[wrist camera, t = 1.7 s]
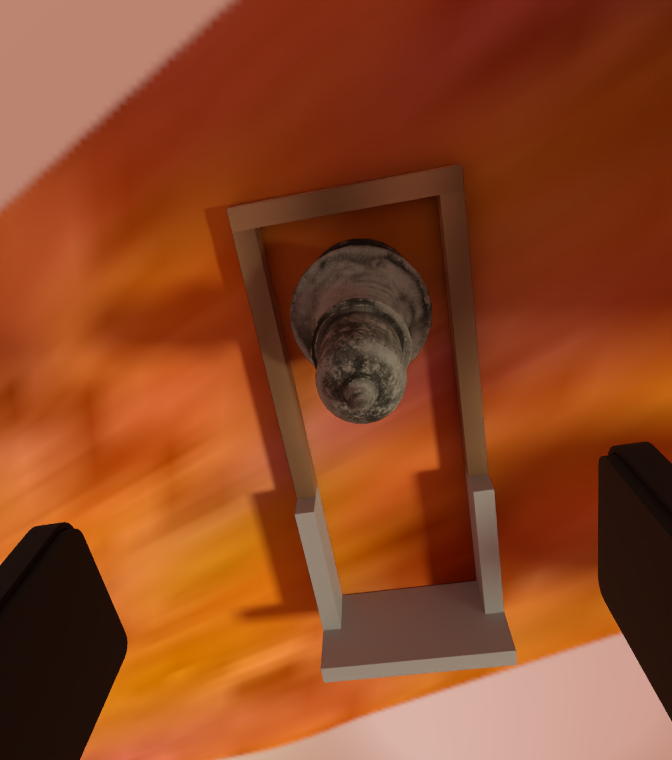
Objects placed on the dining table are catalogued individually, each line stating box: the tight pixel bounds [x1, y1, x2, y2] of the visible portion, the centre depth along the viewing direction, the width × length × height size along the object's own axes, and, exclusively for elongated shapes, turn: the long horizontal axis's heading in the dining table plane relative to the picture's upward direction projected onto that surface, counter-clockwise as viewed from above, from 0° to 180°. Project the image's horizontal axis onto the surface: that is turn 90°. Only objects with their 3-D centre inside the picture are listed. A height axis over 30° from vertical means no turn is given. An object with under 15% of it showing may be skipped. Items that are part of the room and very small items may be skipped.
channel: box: [226, 164, 488, 499], centre depth 27 cm, size 10×15×1 cm, turn 10°
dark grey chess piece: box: [290, 239, 432, 424], centre depth 21 cm, size 6×6×12 cm
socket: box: [295, 468, 517, 683], centre depth 29 cm, size 10×9×5 cm
